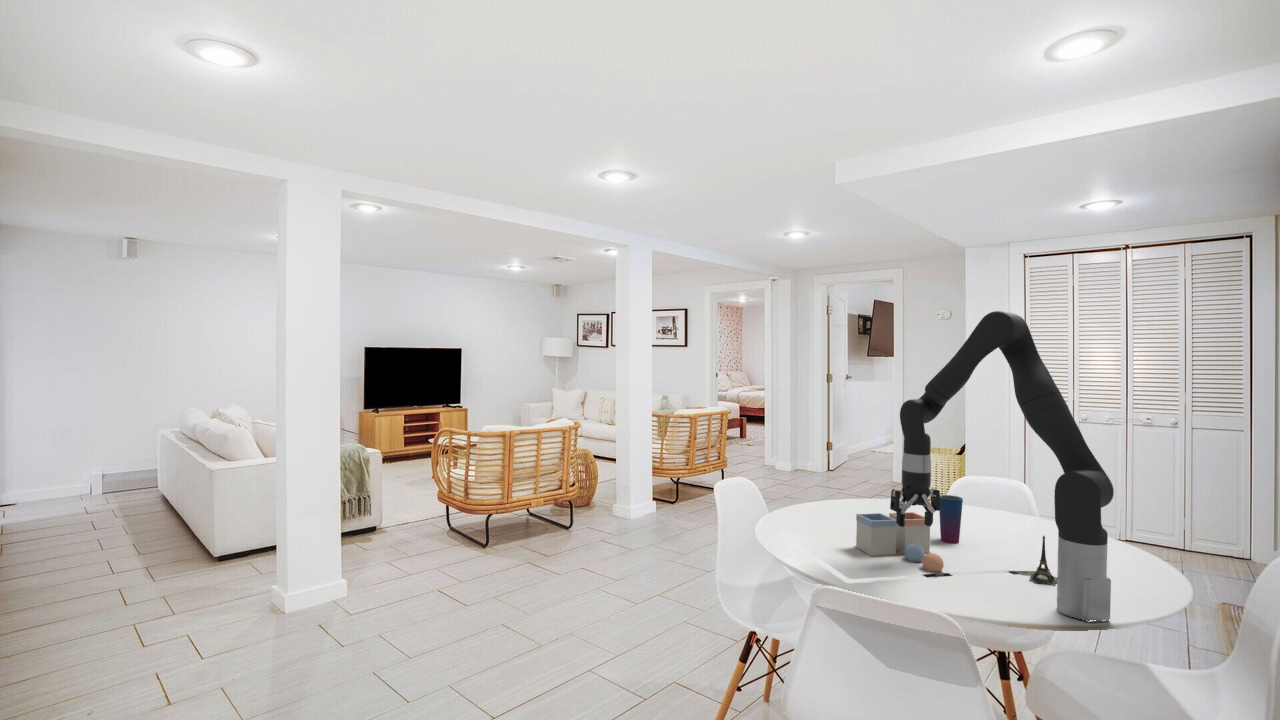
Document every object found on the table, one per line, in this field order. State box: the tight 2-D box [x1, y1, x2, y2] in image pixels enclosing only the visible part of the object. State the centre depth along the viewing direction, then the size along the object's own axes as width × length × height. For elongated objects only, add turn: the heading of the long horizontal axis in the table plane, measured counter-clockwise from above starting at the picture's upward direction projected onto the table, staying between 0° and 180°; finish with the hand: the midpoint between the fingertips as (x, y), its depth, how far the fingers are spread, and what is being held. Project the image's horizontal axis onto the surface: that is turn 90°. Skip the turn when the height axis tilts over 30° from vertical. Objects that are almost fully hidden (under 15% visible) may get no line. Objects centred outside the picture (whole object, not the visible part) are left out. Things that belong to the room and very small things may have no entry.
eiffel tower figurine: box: [1008, 535, 1057, 587], centre depth 163 cm, size 15×10×13 cm
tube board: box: [852, 545, 929, 558], centre depth 184 cm, size 10×20×1 cm, turn 101°
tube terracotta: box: [888, 511, 931, 554], centre depth 185 cm, size 8×8×10 cm
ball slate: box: [904, 544, 926, 563], centre depth 175 cm, size 5×5×5 cm
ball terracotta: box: [921, 552, 945, 573], centre depth 167 cm, size 5×5×5 cm
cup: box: [938, 494, 964, 544], centre depth 194 cm, size 7×7×15 cm
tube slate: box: [855, 512, 897, 556], centre depth 183 cm, size 8×8×10 cm
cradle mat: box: [914, 561, 954, 578], centre depth 171 cm, size 14×8×1 cm, turn 11°
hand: (914, 525), depth 175 cm, fingers open, 8 cm apart
